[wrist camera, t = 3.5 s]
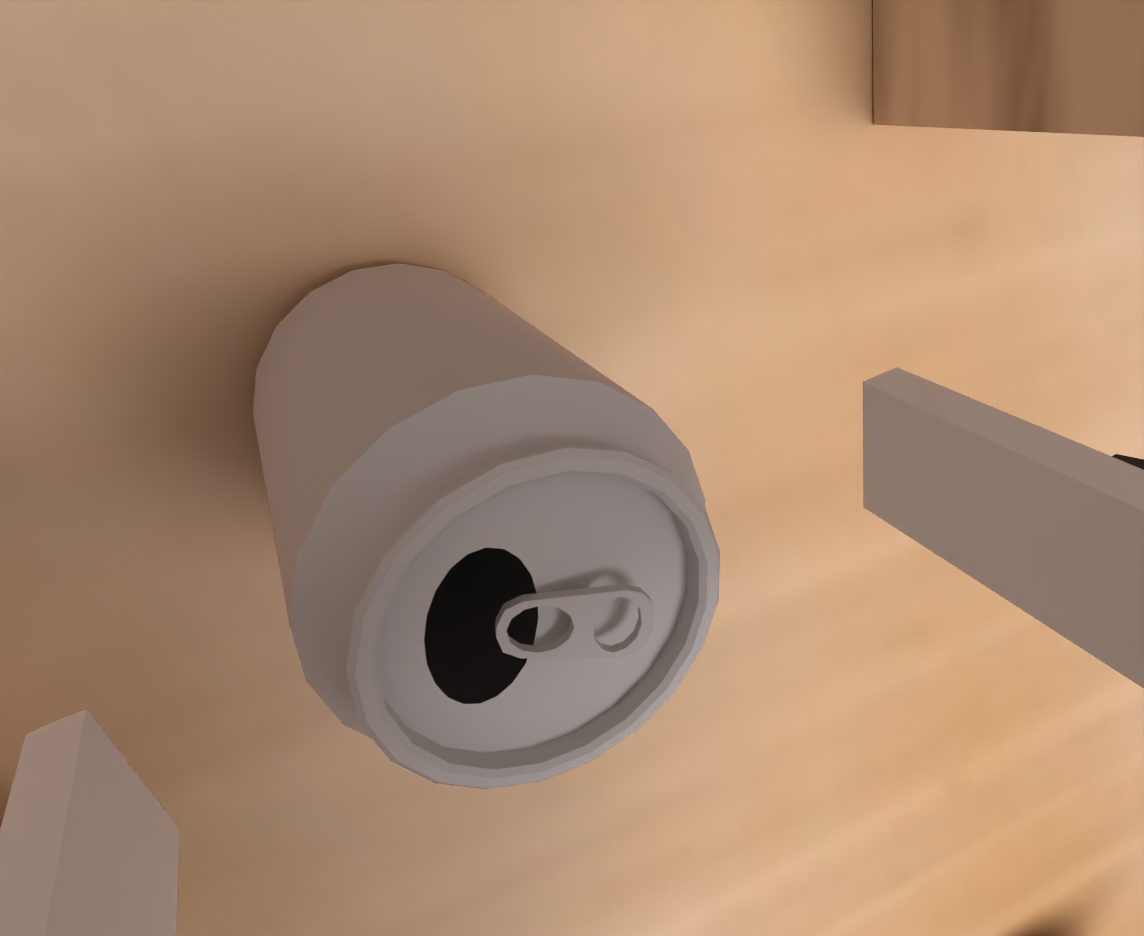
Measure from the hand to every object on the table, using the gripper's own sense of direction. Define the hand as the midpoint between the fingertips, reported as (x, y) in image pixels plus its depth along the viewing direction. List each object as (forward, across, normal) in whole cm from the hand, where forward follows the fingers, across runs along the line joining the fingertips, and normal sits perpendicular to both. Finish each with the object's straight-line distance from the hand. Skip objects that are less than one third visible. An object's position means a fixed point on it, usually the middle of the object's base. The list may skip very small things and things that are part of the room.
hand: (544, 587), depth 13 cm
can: (+11, 0, 0) cm, 11 cm away
